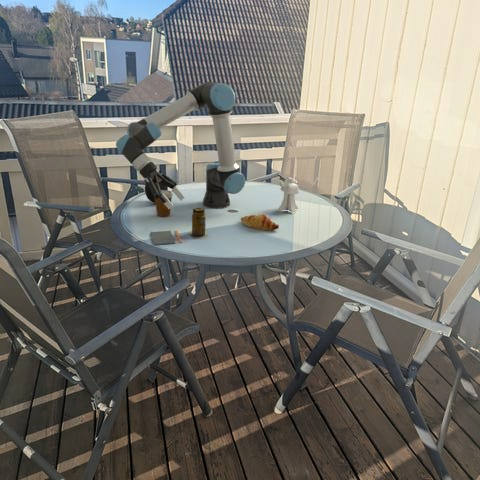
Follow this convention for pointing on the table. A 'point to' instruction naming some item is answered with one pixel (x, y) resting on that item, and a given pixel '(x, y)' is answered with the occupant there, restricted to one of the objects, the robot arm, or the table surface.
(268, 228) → the croissant
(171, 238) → the mat
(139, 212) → the table surface
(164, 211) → the disposable coffee cup
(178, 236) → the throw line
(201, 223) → the condiment
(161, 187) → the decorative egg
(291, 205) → the white mech figurine
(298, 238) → the table surface
